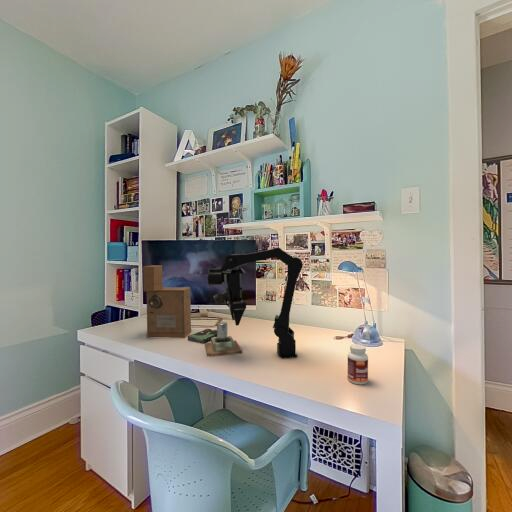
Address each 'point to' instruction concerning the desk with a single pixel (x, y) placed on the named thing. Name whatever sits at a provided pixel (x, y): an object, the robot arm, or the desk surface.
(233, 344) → the dock board
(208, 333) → the disk drive
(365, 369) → the pill bottle
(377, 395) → the desk surface
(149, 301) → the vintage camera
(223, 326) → the peg
